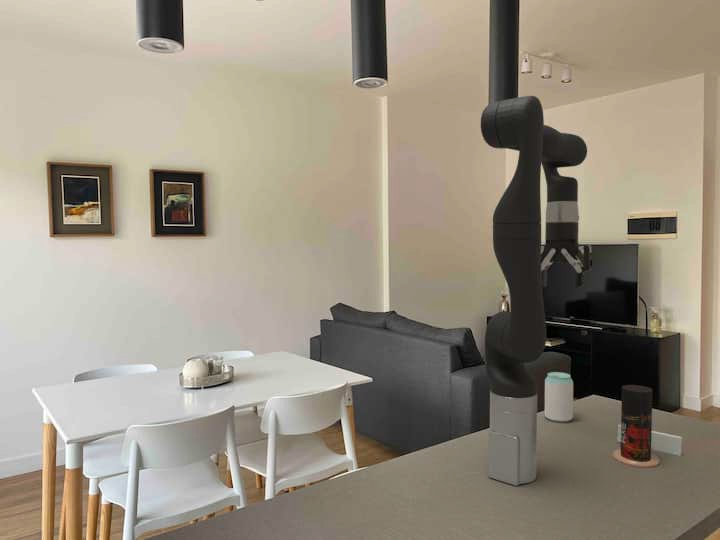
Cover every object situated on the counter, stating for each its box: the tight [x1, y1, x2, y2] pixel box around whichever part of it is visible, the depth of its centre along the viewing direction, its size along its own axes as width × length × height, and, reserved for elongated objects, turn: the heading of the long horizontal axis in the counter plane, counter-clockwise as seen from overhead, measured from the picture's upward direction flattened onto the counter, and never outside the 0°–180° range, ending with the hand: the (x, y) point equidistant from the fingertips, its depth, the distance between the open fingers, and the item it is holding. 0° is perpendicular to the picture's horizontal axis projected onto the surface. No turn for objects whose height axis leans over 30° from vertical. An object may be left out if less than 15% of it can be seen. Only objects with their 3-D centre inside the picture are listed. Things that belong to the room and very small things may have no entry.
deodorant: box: [620, 384, 653, 462], centre depth 119 cm, size 6×6×15 cm
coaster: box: [612, 448, 660, 469], centre depth 119 cm, size 9×9×1 cm
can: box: [544, 371, 574, 423], centre depth 146 cm, size 7×7×12 cm
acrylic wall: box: [617, 423, 683, 457], centre depth 125 cm, size 1×13×4 cm, turn 49°
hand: (561, 287), depth 134 cm, fingers open, 8 cm apart
